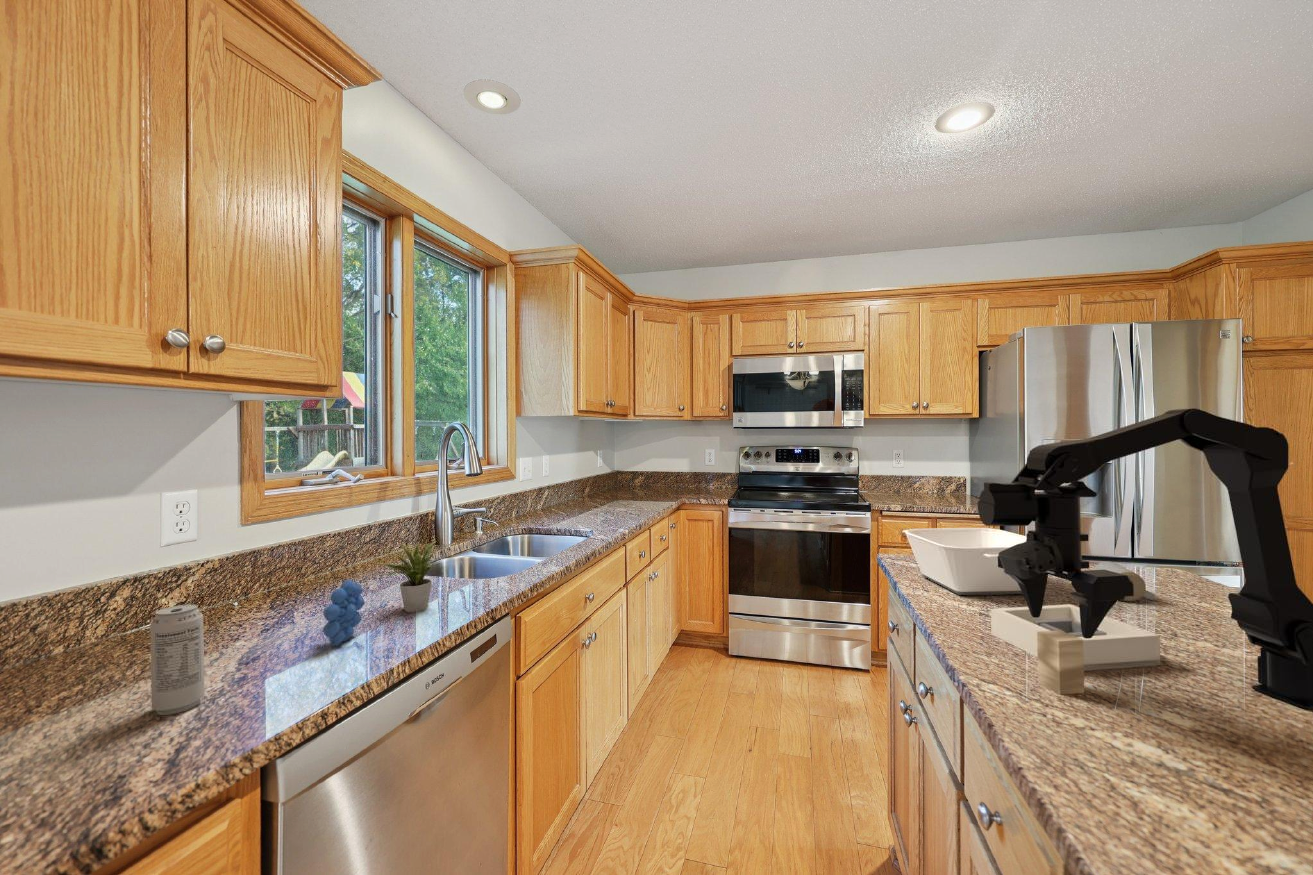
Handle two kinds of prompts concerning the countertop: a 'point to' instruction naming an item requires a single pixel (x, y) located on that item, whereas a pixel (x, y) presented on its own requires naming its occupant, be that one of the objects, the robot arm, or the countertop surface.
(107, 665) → the countertop surface
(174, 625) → the energy drink can
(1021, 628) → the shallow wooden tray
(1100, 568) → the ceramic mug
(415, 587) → the house plant
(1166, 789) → the countertop surface
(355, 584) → the grapes
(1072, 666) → the wooden block
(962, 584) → the tub
